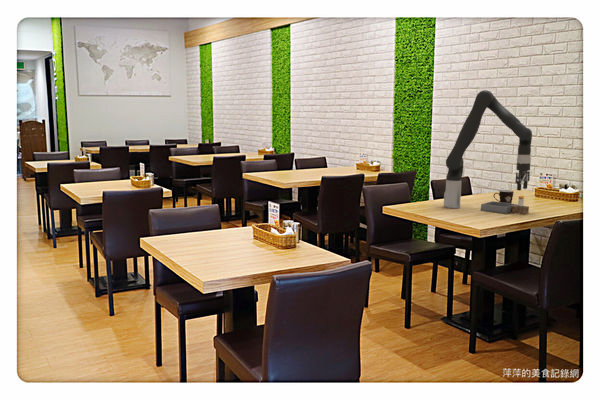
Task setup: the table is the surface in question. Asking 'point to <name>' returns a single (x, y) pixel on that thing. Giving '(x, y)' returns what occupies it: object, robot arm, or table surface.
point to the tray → (497, 207)
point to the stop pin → (521, 201)
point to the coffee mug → (505, 196)
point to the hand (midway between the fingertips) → (522, 189)
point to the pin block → (520, 209)
